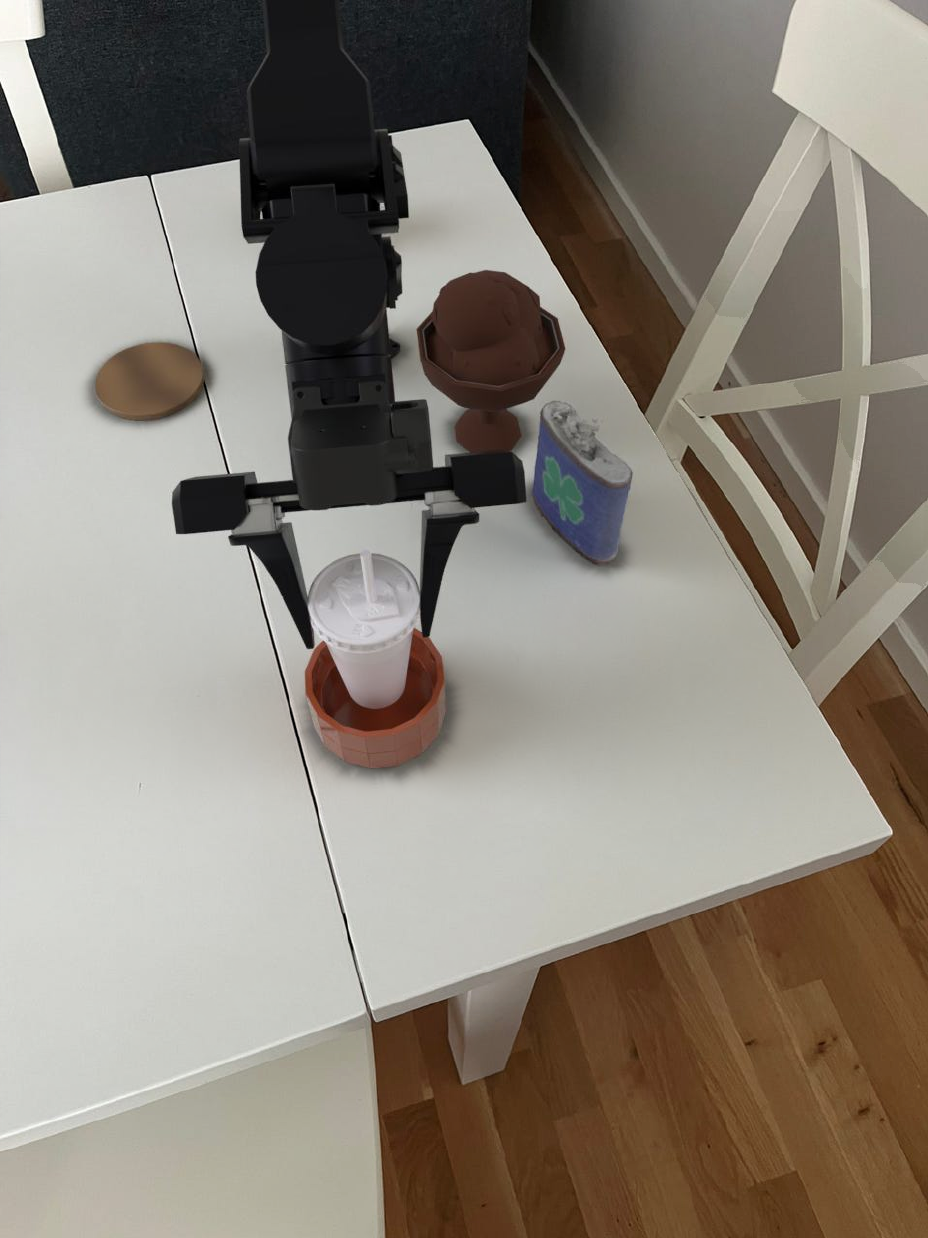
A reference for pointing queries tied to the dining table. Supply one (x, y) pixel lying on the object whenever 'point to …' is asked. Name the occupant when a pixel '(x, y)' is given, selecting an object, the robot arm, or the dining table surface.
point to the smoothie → (367, 623)
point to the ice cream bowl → (489, 354)
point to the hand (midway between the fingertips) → (368, 642)
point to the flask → (579, 484)
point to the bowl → (382, 730)
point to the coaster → (149, 381)
